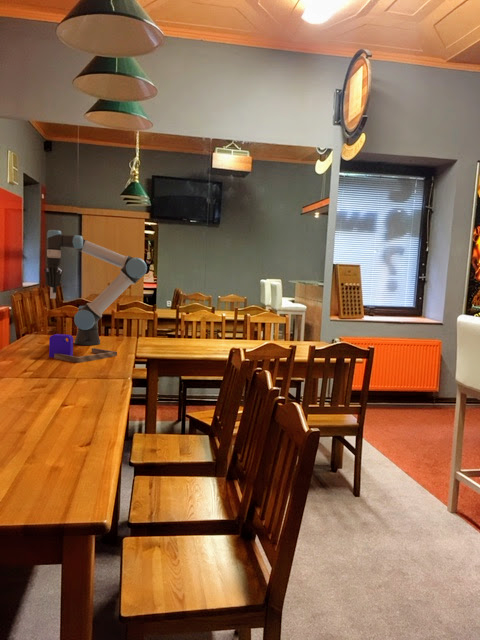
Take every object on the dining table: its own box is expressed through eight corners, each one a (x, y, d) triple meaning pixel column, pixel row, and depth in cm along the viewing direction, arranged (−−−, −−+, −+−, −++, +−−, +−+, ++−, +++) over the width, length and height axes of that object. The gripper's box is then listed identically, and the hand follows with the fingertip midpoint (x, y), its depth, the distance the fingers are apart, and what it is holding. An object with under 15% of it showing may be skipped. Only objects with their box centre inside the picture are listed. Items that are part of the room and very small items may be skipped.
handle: (94, 352, 289) (94, 348, 289) (116, 356, 281) (117, 351, 281) (54, 358, 265) (54, 353, 264) (78, 362, 257) (78, 357, 256)
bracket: (70, 358, 268) (70, 335, 267) (49, 357, 268) (49, 334, 267) (79, 352, 286) (80, 331, 285) (60, 351, 286) (60, 330, 285)
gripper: (40, 256, 295) (39, 297, 297) (56, 257, 288) (55, 299, 291) (51, 257, 301) (50, 297, 304) (66, 258, 295) (65, 299, 297)
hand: (52, 298), depth 297 cm, fingers closed
